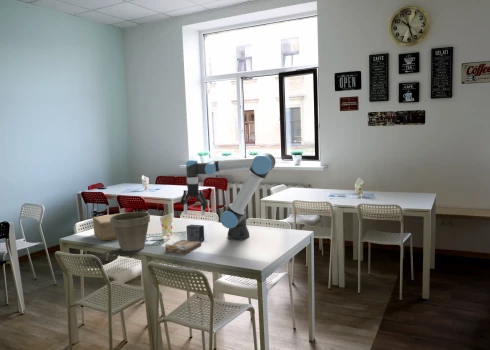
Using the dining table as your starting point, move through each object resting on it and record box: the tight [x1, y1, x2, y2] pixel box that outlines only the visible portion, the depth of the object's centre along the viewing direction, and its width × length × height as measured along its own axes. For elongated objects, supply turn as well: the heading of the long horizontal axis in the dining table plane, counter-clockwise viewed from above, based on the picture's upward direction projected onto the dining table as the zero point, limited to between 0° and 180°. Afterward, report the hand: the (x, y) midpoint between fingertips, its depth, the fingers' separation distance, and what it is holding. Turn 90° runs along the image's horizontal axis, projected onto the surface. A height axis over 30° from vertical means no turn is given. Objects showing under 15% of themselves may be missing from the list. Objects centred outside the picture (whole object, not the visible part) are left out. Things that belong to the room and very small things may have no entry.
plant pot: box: [110, 211, 151, 252], centre depth 268 cm, size 25×25×22 cm
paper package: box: [92, 212, 124, 242], centre depth 304 cm, size 27×26×14 cm
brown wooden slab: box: [164, 239, 202, 255], centre depth 264 cm, size 15×18×4 cm
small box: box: [186, 224, 205, 243], centre depth 281 cm, size 11×6×10 cm, turn 65°
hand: (194, 214), depth 279 cm, fingers open, 13 cm apart
